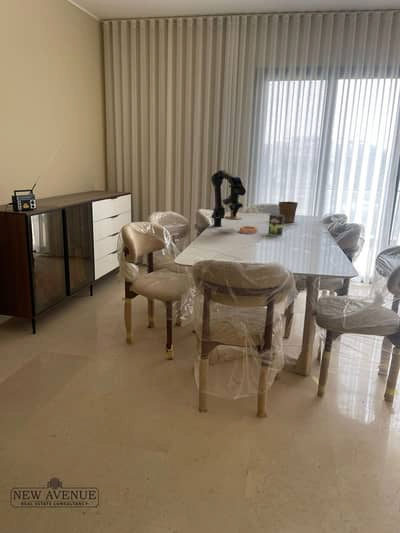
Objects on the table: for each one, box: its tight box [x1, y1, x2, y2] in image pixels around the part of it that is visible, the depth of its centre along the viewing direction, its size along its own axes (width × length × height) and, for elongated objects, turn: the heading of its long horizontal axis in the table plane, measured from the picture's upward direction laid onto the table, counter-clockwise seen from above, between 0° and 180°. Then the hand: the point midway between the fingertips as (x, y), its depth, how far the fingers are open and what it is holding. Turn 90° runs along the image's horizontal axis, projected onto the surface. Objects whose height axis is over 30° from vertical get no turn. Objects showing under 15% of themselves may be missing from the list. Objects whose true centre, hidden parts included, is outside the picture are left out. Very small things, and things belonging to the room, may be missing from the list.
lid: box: [224, 210, 243, 221], centre depth 283 cm, size 13×13×6 cm
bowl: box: [239, 225, 259, 235], centre depth 285 cm, size 12×12×4 cm
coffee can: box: [267, 213, 284, 237], centre depth 278 cm, size 10×10×14 cm
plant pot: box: [278, 201, 299, 224], centre depth 328 cm, size 16×16×16 cm
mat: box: [214, 228, 239, 234], centre depth 287 cm, size 14×14×1 cm
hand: (233, 215), depth 283 cm, fingers closed on lid, 3 cm apart
